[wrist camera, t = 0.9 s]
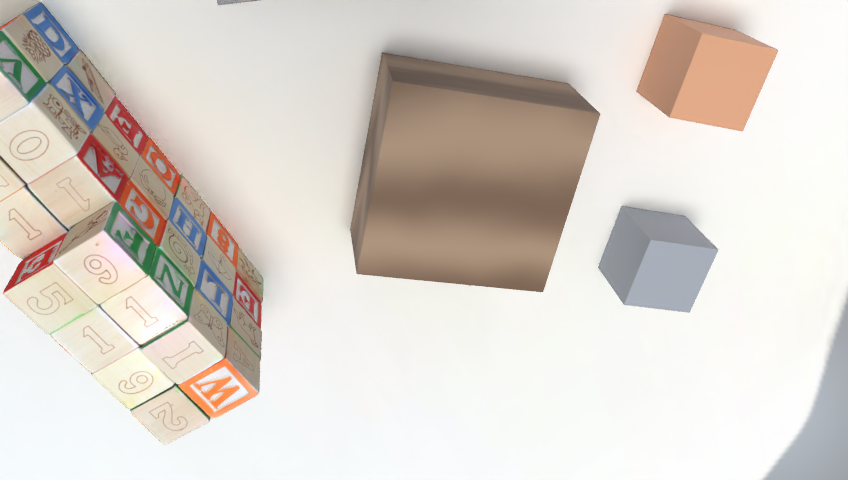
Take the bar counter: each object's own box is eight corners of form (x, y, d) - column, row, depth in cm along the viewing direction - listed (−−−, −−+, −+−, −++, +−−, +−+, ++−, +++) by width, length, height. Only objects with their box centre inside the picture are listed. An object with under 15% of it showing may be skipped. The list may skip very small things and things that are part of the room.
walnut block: (381, 51, 45) (393, 81, 40) (567, 82, 48) (600, 113, 43) (350, 227, 51) (356, 273, 46) (518, 246, 54) (542, 292, 48)
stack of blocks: (-51, 57, 42) (-168, 138, 31) (41, -2, 41) (-46, 61, 30) (190, 322, 52) (164, 450, 42) (267, 278, 52) (261, 398, 41)
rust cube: (664, 13, 47) (702, 33, 42) (734, 29, 48) (778, 50, 44) (636, 91, 49) (669, 117, 45) (703, 104, 50) (742, 131, 46)
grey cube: (621, 205, 53) (650, 239, 49) (684, 215, 54) (718, 249, 50) (597, 266, 55) (623, 304, 51) (658, 274, 56) (689, 312, 52)
